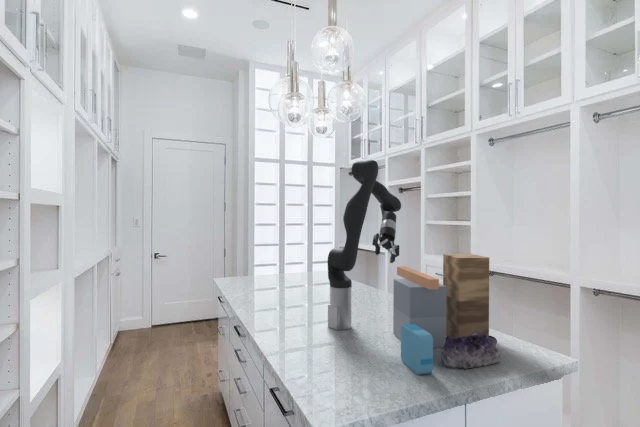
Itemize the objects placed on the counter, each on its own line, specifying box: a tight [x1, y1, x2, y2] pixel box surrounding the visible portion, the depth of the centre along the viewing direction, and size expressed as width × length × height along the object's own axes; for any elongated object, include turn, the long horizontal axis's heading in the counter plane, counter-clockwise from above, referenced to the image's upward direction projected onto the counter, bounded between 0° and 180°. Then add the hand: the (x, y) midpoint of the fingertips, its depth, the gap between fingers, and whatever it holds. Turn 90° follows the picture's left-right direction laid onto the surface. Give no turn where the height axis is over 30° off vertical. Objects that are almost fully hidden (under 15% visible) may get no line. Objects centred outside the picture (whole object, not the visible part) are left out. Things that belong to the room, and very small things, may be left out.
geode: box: [441, 333, 501, 371], centre depth 114 cm, size 20×12×10 cm, turn 114°
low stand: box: [392, 278, 447, 349], centre depth 134 cm, size 16×14×22 cm
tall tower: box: [442, 253, 490, 339], centre depth 137 cm, size 12×12×32 cm
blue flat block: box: [400, 324, 434, 376], centre depth 110 cm, size 12×4×12 cm, turn 14°
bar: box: [396, 266, 440, 290], centre depth 137 cm, size 30×4×4 cm, turn 9°
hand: (384, 258), depth 161 cm, fingers open, 8 cm apart
